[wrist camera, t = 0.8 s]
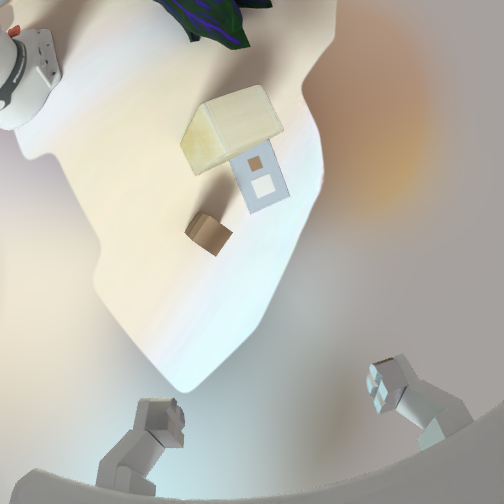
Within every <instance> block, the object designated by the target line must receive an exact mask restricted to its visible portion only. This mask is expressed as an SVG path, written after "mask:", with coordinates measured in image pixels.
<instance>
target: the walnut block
mask: <svg viewBox="0 0 504 504" xmlns="http://www.w3.org/2000/svg"><path fill="white" fill-rule="evenodd" d="M184 233H185V234H186V235H187V236H188V237H189V238H190V239H191V240H192V241H194V242H195V243H197V244H198V245H199V246H201V247H202V248H204V249H205V250H207V251H208V252H210V253H211V254H213V255H214V256H217V254H218V253H219V251H220V250H221V249H222V247H223V246H224V244H225V243H226V241H227V240H228V239H229V237H230V236H231V234H232V233H233V232H231V231H230V230H229V229H227V228H226V227H225V226H223V225H222V224H221V223H219V222H218V221H216V220H215V219H214V218H212V217H211V216H210V215H207V214H204V213H201V212H198V214H197V215H196V217H195V218H194V219H193V221H192V222H191V224H190V225H189V227H188V228H187V229H186V231H185V232H184Z"/></svg>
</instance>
